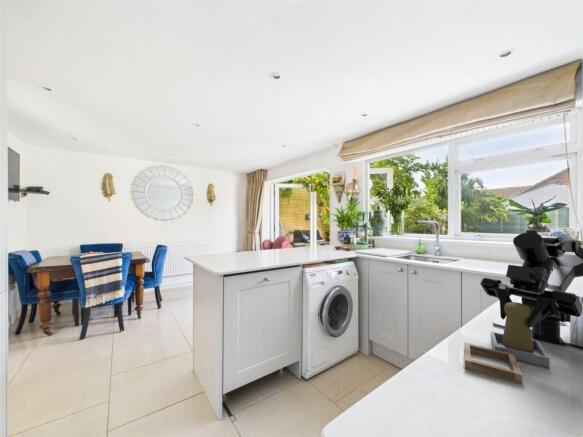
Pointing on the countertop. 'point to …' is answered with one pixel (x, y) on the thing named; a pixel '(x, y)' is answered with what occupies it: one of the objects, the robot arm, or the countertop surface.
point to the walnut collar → (489, 369)
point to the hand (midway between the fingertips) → (514, 322)
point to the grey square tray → (535, 358)
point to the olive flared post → (517, 327)
